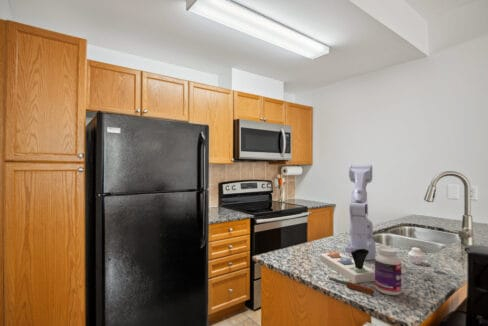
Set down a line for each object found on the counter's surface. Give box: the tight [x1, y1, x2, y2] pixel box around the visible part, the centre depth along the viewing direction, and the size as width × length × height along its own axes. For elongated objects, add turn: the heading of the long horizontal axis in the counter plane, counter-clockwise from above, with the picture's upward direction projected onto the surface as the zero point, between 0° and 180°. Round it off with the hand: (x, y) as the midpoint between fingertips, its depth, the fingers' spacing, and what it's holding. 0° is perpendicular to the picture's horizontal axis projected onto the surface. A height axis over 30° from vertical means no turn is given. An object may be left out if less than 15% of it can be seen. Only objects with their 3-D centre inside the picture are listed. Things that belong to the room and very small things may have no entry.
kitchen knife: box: [328, 277, 375, 296], centre depth 91 cm, size 16×1×2 cm, turn 48°
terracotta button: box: [328, 251, 341, 259], centre depth 115 cm, size 4×4×2 cm
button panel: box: [319, 252, 375, 284], centre depth 108 cm, size 10×24×3 cm, turn 15°
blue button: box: [340, 257, 353, 265], centre depth 108 cm, size 4×4×2 cm
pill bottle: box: [374, 246, 403, 296], centre depth 89 cm, size 8×8×14 cm
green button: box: [353, 266, 365, 273], centre depth 100 cm, size 4×4×2 cm
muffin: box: [407, 246, 426, 265], centre depth 115 cm, size 6×6×7 cm
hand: (359, 268), depth 100 cm, fingers closed, pressing on green button
